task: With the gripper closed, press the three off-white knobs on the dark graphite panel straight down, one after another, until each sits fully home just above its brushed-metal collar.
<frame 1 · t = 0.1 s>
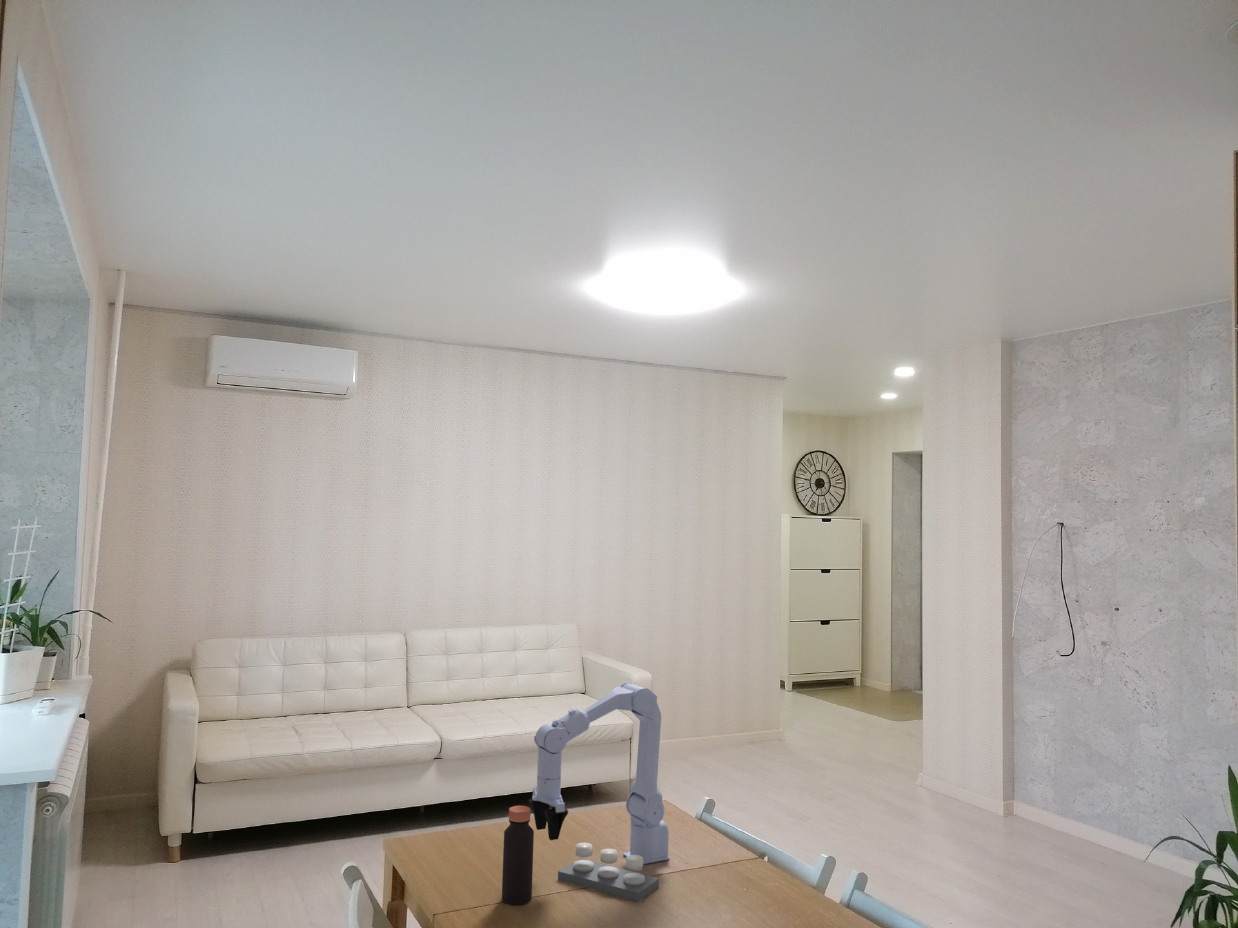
hand: (547, 833, 211), 10 cm above the table, tool pointing down, fingers open, 7 cm apart
knob b: (608, 855, 208), point 6 cm above the table, slide at 0.0 cm
knob c: (584, 849, 212), point 6 cm above the table, slide at 0.0 cm
knob a: (634, 862, 205), point 6 cm above the table, slide at 0.0 cm
bottle: (516, 900, 197), on the table
knob panel: (608, 883, 208), on the table
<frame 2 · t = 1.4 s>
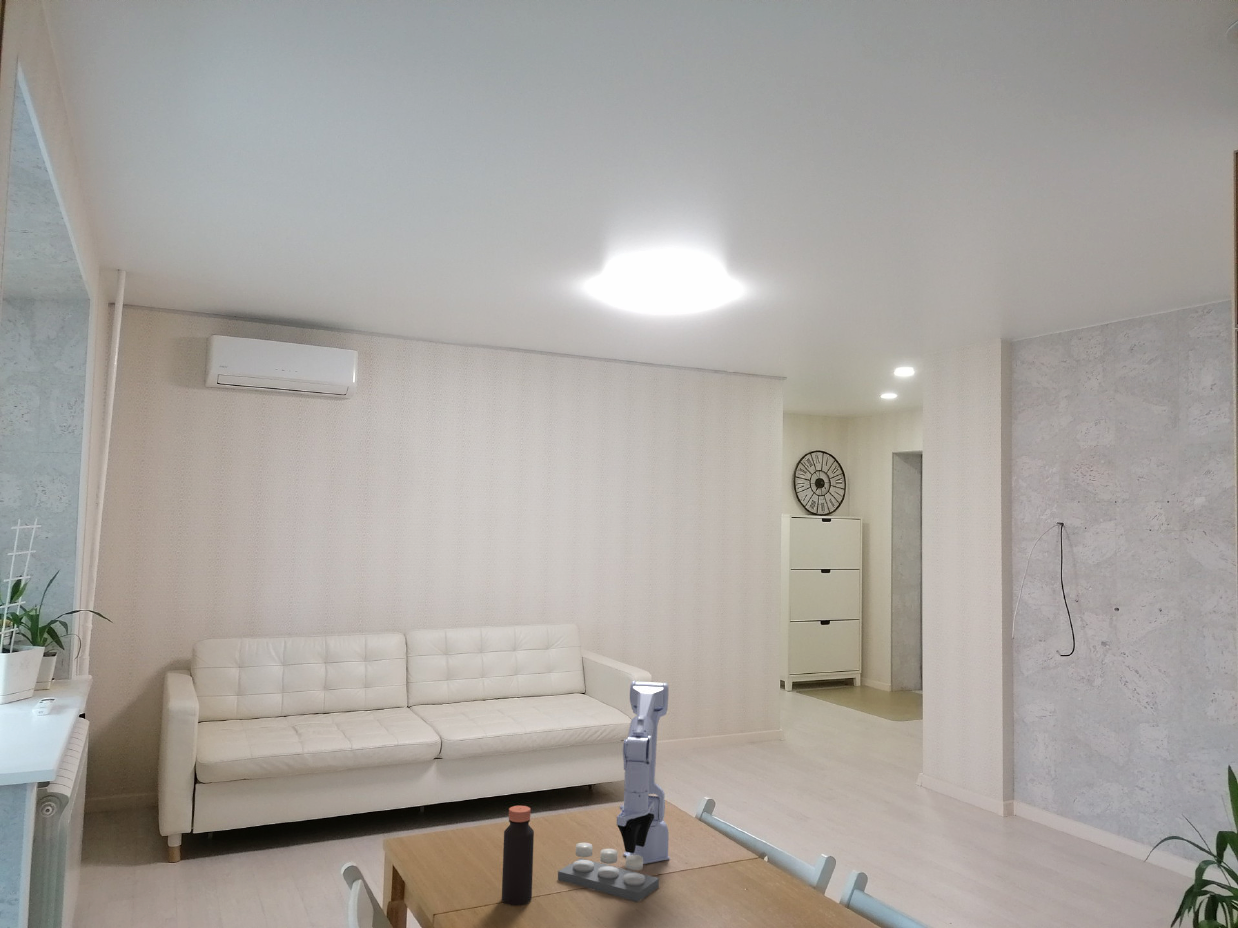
hand: (634, 848, 205), 9 cm above the table, tool pointing down, fingers open, 4 cm apart
nothing on the table moved.
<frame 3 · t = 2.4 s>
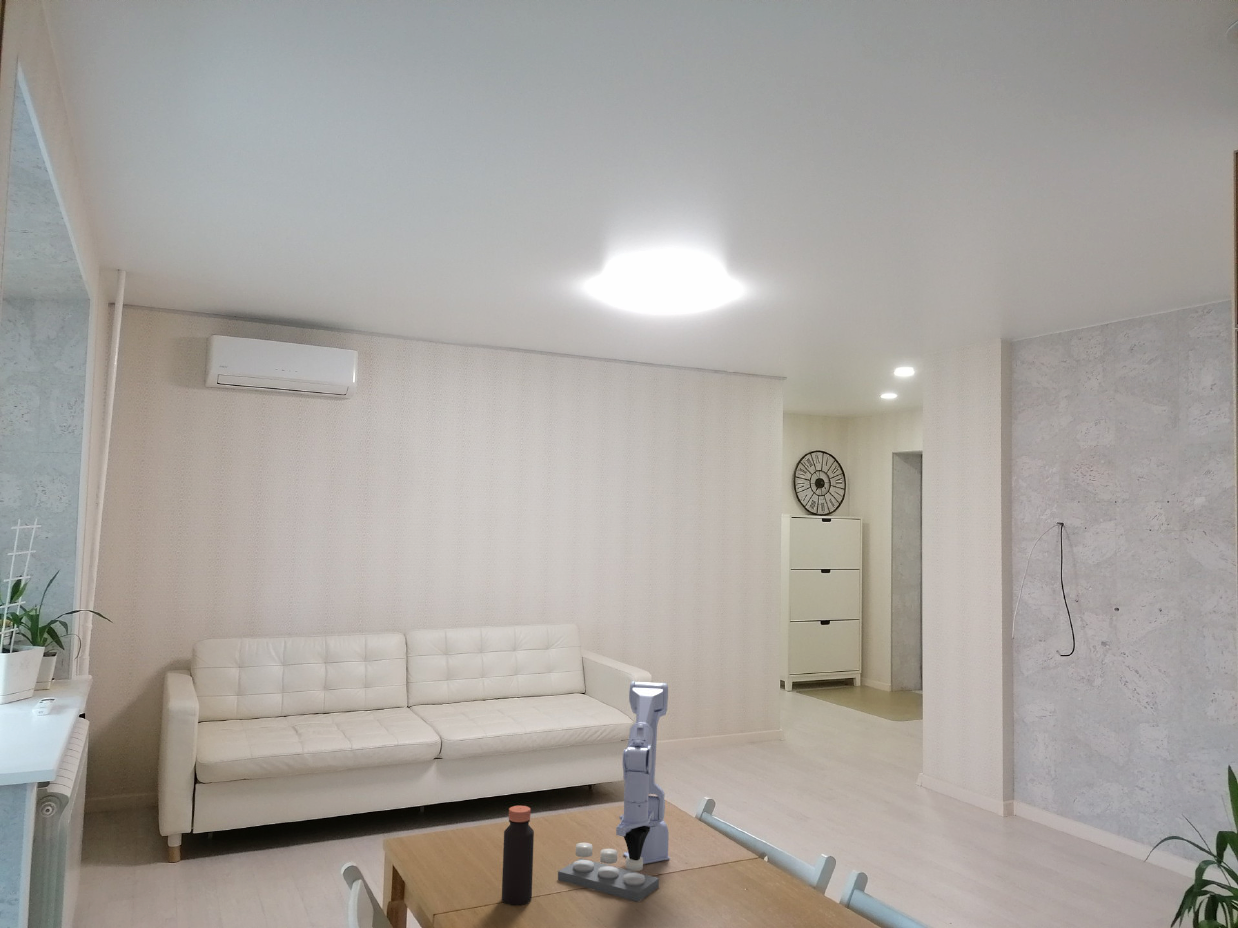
hand: (634, 858, 205), 7 cm above the table, tool pointing down, fingers closed, pressing on knob a
knob a: (634, 862, 205), point 6 cm above the table, slide at 0.1 cm, touching gripper
everything else where it was.
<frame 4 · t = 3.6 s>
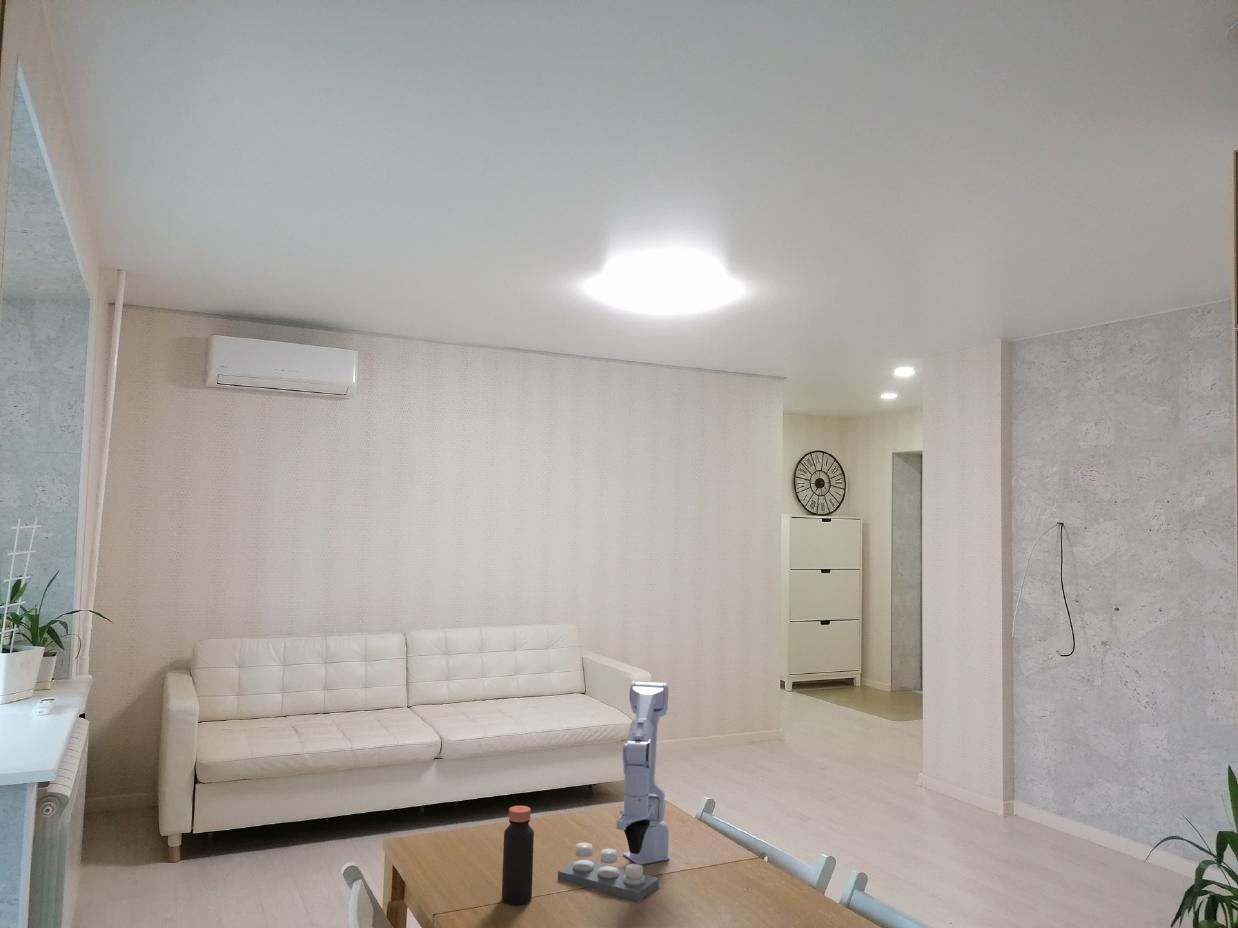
hand: (634, 852, 205), 9 cm above the table, tool pointing down, fingers closed
knob a: (634, 871, 204), point 4 cm above the table, slide at 2.1 cm
everything else where it was.
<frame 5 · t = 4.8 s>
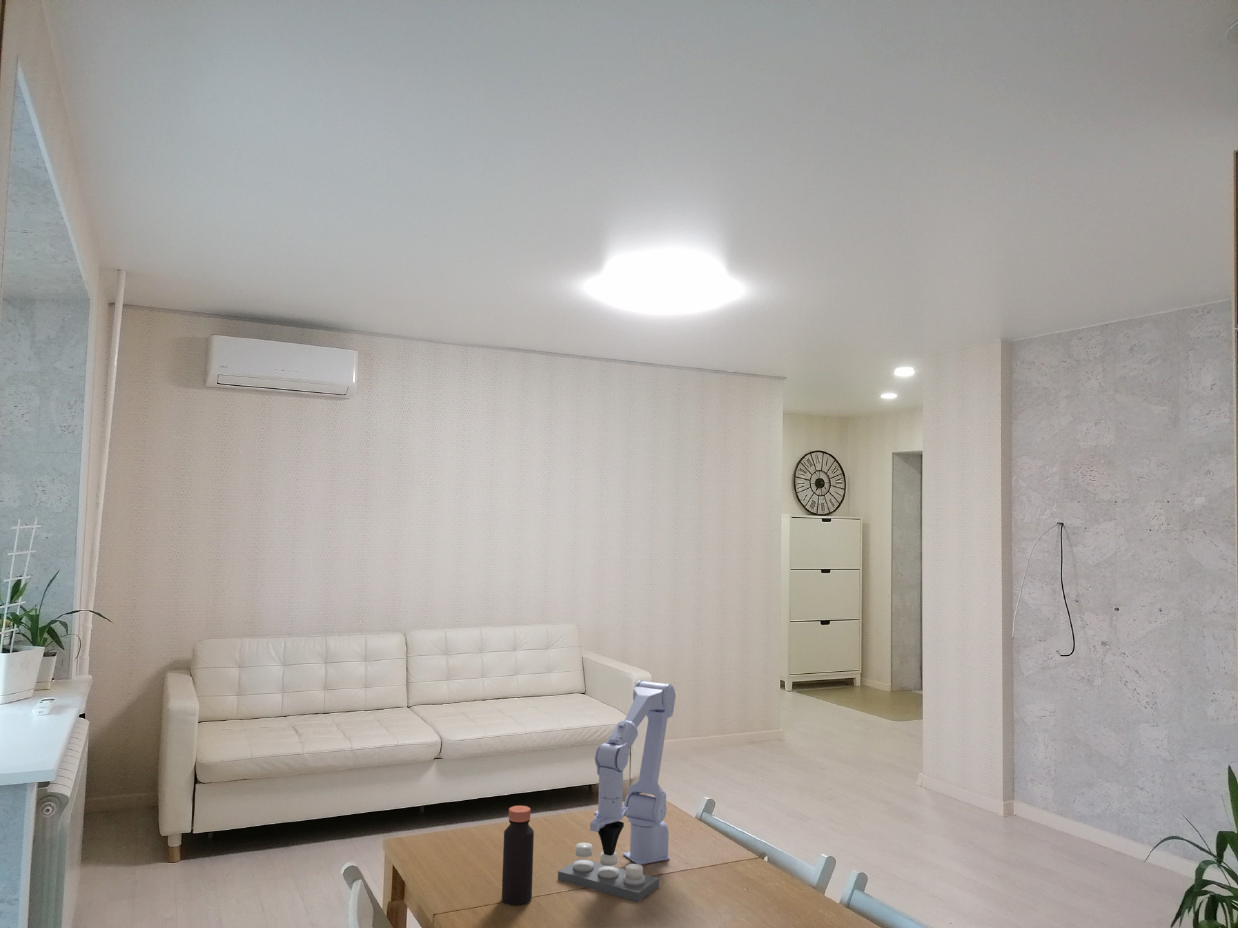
hand: (608, 853, 208), 7 cm above the table, tool pointing down, fingers closed, pressing on knob b
knob b: (608, 857, 208), point 6 cm above the table, slide at 0.5 cm, touching gripper
everything else where it was.
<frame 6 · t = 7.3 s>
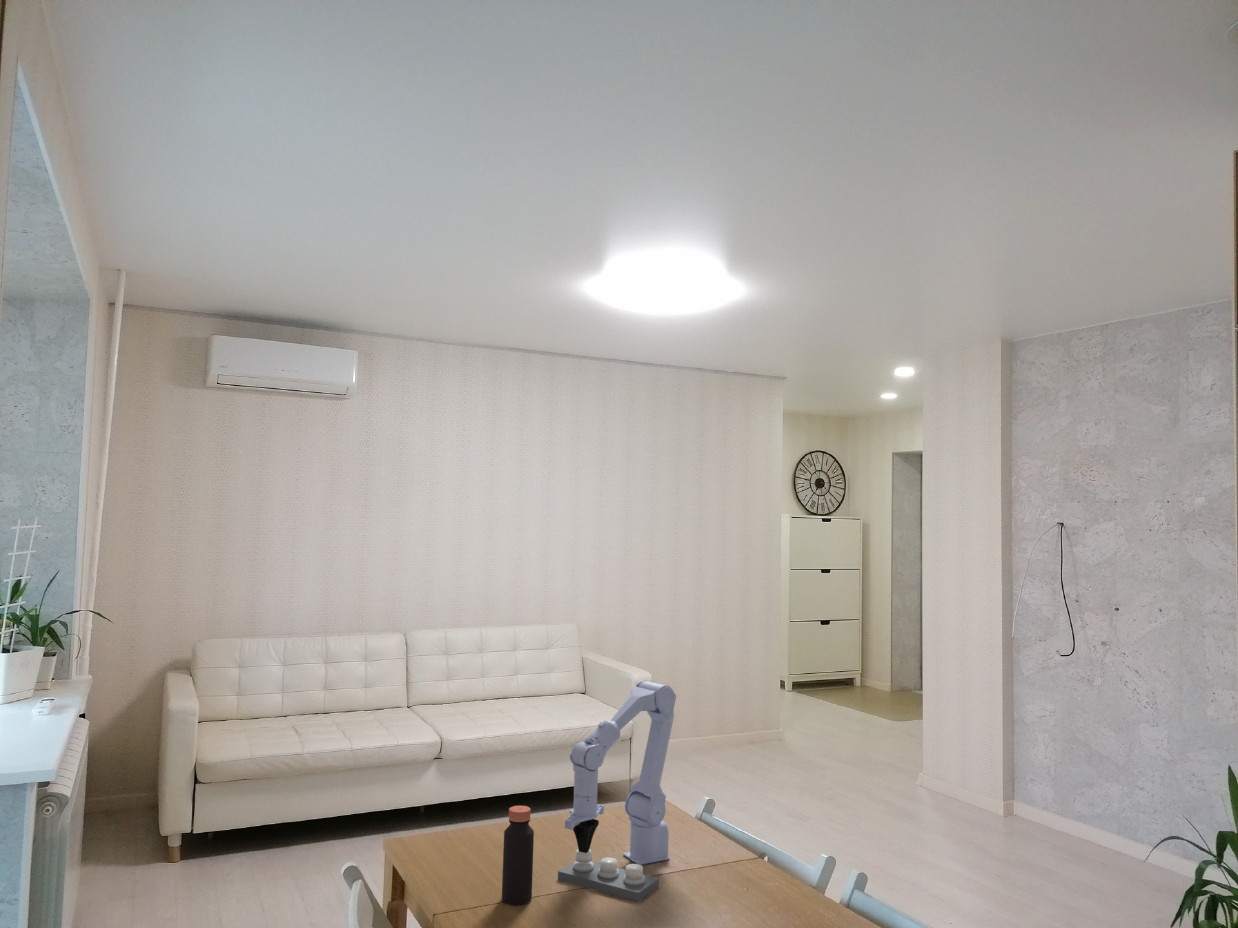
hand: (583, 851, 212), 6 cm above the table, tool pointing down, fingers closed, pressing on knob c
knob b: (608, 864, 208), point 4 cm above the table, slide at 2.1 cm
knob c: (583, 855, 212), point 5 cm above the table, slide at 1.4 cm, touching gripper
everything else where it was.
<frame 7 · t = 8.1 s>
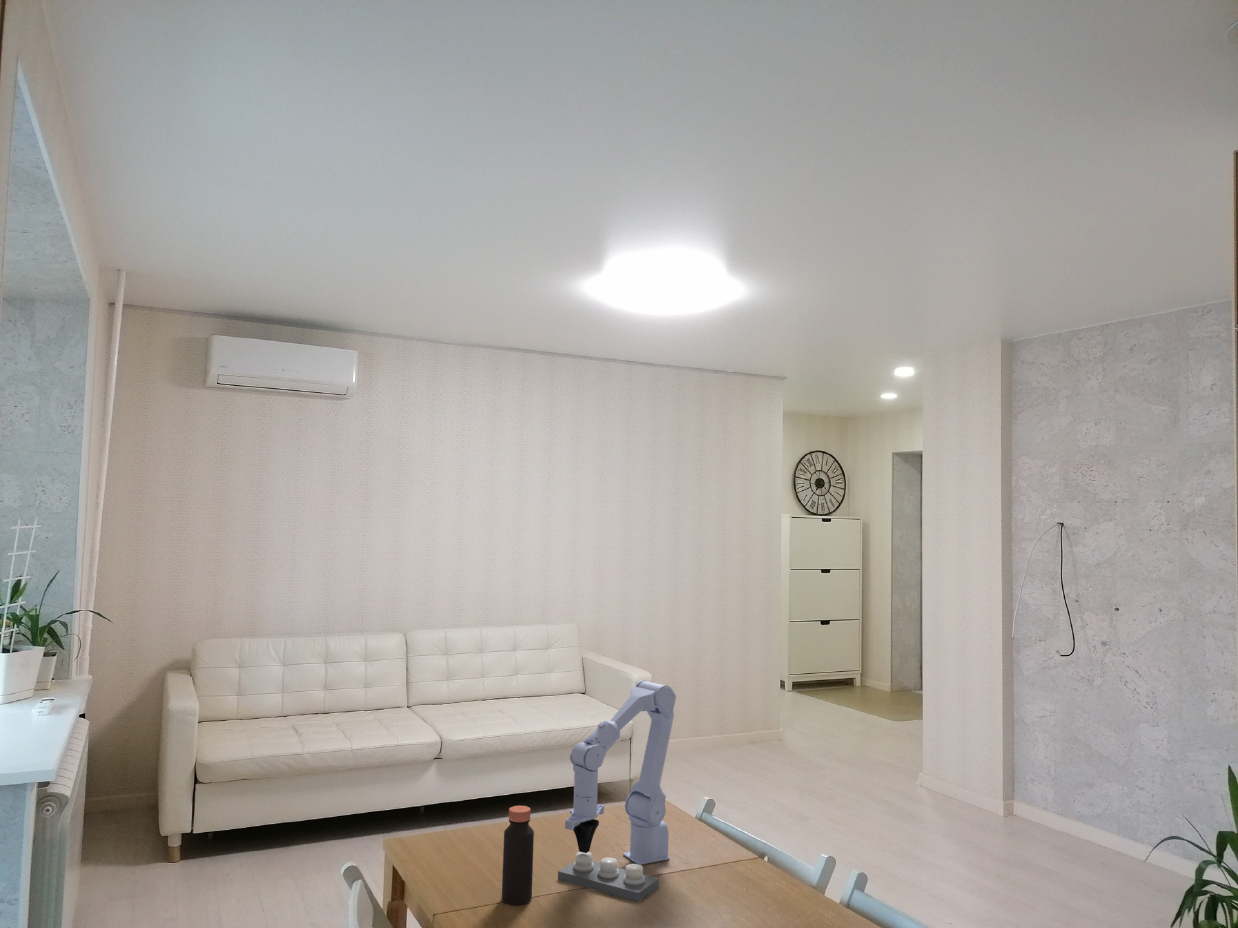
hand: (584, 851, 212), 6 cm above the table, tool pointing down, fingers closed
knob c: (583, 858, 212), point 4 cm above the table, slide at 2.1 cm
everything else where it was.
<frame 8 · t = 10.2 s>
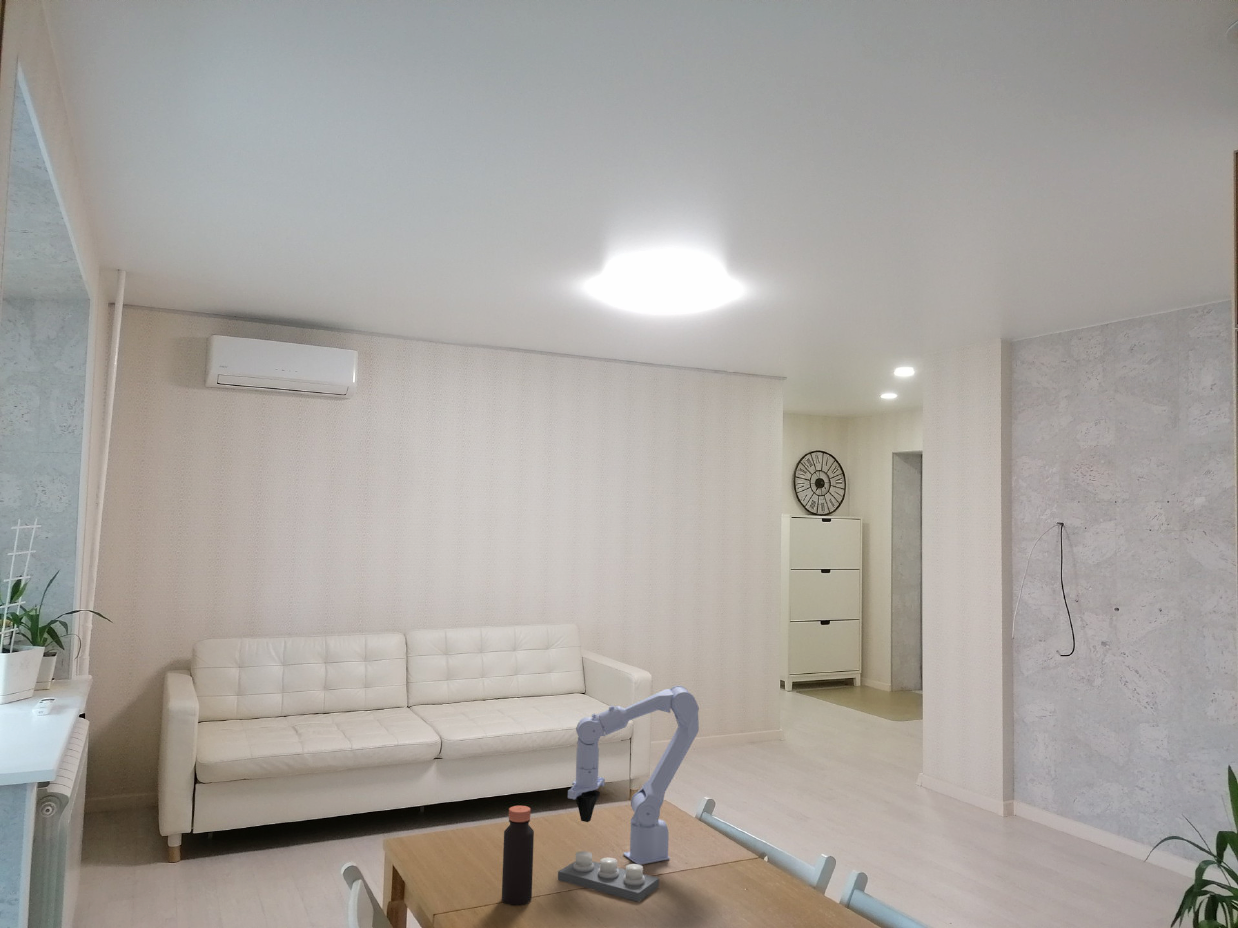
hand: (585, 820, 223), 9 cm above the table, tool pointing down, fingers closed
nothing on the table moved.
at the end: knob a slide at 2.1 cm; knob b slide at 2.1 cm; knob c slide at 2.1 cm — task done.
